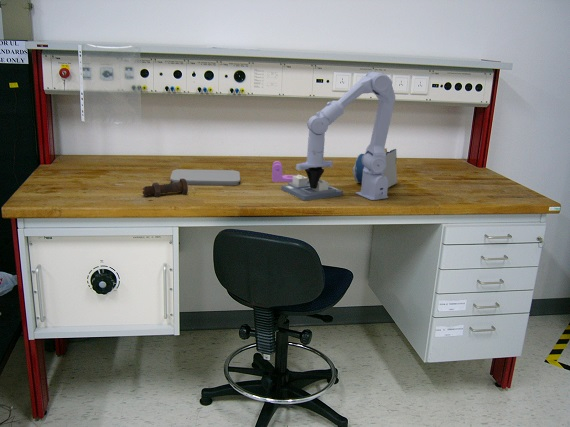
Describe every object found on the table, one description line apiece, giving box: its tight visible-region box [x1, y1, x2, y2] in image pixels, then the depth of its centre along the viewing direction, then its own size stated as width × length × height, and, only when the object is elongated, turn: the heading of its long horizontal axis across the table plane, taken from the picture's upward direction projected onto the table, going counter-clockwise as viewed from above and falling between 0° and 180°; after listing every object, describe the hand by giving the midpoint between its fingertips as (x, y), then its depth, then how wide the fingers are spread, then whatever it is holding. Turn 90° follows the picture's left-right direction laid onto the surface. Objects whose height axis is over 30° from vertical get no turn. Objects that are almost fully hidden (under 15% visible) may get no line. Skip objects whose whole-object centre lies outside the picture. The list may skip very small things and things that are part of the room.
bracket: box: [271, 160, 298, 183], centre depth 222 cm, size 13×6×7 cm, turn 93°
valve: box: [351, 147, 398, 188], centre depth 221 cm, size 13×15×15 cm
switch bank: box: [280, 180, 344, 202], centre depth 208 cm, size 15×17×2 cm
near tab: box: [313, 178, 330, 191], centre depth 204 cm, size 4×4×4 cm
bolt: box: [142, 179, 189, 197], centre depth 196 cm, size 6×5×15 cm
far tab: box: [291, 173, 309, 186], centre depth 209 cm, size 4×4×4 cm
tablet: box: [170, 168, 241, 186], centre depth 218 cm, size 16×26×2 cm, turn 97°
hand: (313, 187), depth 203 cm, fingers closed
